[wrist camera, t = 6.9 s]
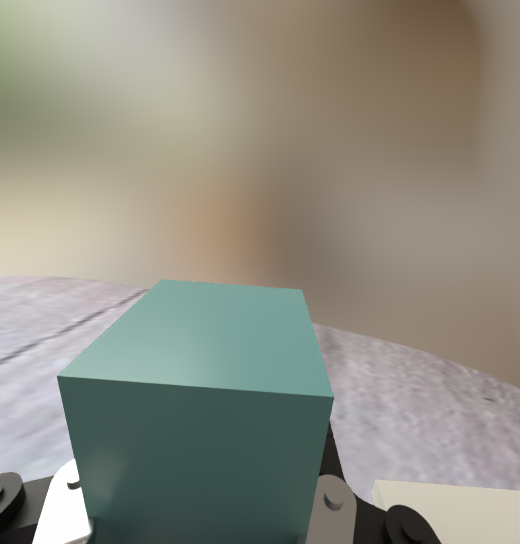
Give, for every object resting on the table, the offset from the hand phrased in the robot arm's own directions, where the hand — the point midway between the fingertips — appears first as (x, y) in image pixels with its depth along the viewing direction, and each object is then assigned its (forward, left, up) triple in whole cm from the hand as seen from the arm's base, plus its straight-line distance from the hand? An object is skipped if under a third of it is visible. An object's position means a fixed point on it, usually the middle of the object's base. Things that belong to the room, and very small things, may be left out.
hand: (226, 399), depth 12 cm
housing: (-2, -2, -7) cm, 7 cm away
